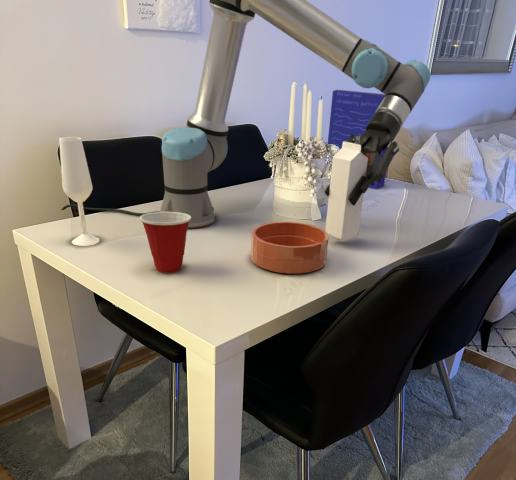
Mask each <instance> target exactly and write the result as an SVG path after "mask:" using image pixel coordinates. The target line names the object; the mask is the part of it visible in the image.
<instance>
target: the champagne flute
mask: <svg viewBox="0 0 516 480" xmlns="http://www.w3.org/2000/svg"><path fill="white" fill-rule="evenodd" d="M58 141H59V155H60V156H59V157H60V168H61V169H60V170H61V183H62V185H61V186H62V191H63V193H64V194H66V196H67V197H68V198H69V199H71V200H72V201H73V202H76V203H77V205H78V208H77V209H78V215H79V221H80V228H81V234H80V235H79V236H77V237H76V238H74V239H73V240H72V241H71V244H72V245H74V246H80V247H85V246H93V245H97V244H98V243H100V238H99V237H96V236H94V235H92V234H90V233H88V229H87V222H86V216H85V215H86V214H85V209H83V207H84V202H86V200H87V199H88V198H89V197H90V196H91V194H92V191H93V189H94V187H93V183H92V179H91V173H90V170H89V166H88V161H87V157H86V153H85V149H84V145H83V140H82V138H81V137H78V136H63V137H59V138H58Z"/></svg>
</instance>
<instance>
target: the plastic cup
mask: <svg viewBox="0 0 516 480" xmlns="http://www.w3.org/2000/svg"><path fill="white" fill-rule="evenodd" d="M152 212H153V213H148V212H147V213H148V214H143V215H142V216H139V220H140V222H141V223H142V225H143V229H144V232H145V234H146V238H147V242H148V245H149V249H150V253H151V254H150V255H151V256H152V259H153V263H154V264H153V265H154V268H155V270H156V271H157V272H159V273H163V274H173V273H177V272H179V271H181V270H182V269H183V268H182V267H183V263H184V255H185V249H186V240H187V233H188V229H189V228H188V224H189V221H190V220H191V216H190V215H188V214H185V213H179V212H155V211H152Z"/></svg>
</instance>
